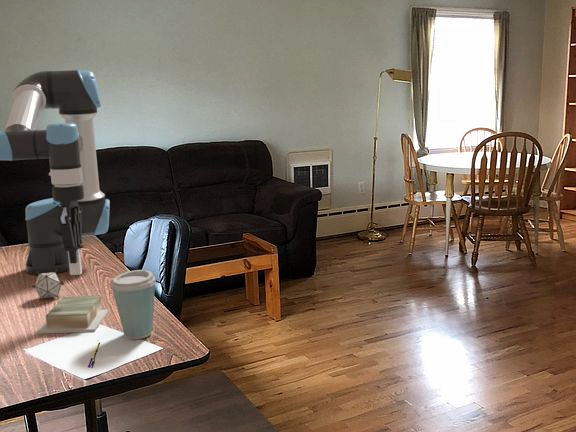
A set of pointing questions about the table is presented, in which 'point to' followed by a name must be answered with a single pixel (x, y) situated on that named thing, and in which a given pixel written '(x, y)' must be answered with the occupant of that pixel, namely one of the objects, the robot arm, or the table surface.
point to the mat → (91, 328)
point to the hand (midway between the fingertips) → (76, 273)
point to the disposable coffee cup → (135, 302)
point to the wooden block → (74, 312)
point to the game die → (48, 285)
